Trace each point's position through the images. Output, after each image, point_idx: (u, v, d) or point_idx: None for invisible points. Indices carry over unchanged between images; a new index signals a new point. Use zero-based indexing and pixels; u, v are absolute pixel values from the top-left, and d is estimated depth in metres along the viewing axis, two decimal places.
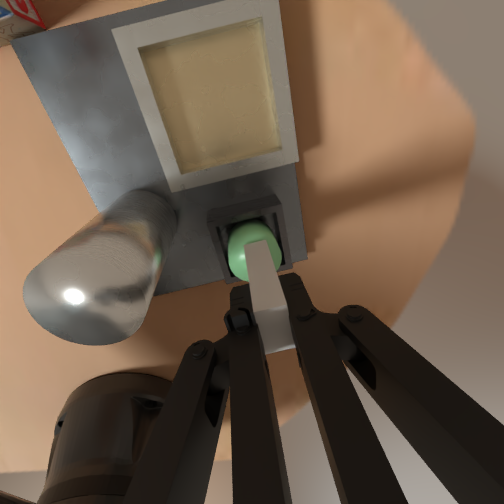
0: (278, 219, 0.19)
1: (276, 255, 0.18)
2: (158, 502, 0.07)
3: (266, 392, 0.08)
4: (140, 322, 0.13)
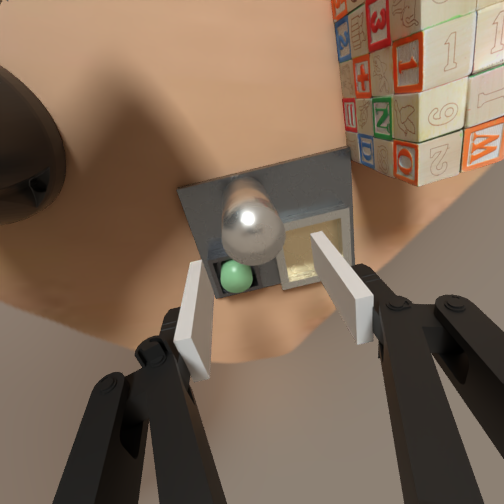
0: (253, 287, 0.32)
1: (239, 290, 0.31)
2: None
3: (189, 417, 0.08)
4: (238, 261, 0.22)
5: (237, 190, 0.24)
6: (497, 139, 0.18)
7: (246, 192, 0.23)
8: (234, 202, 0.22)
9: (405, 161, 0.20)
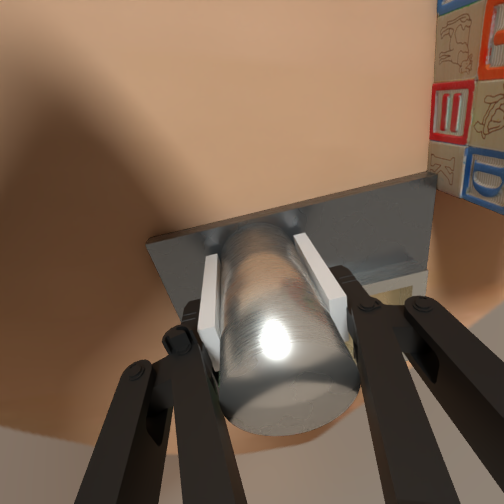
0: None
1: None
2: None
3: (212, 407, 0.08)
4: (255, 432, 0.10)
5: (249, 263, 0.13)
6: None
7: (268, 274, 0.12)
8: (246, 305, 0.10)
9: None
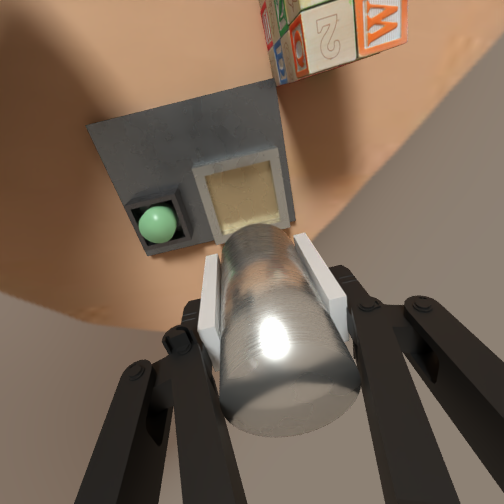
0: (180, 238, 0.30)
1: (161, 240, 0.28)
2: None
3: (212, 407, 0.08)
4: (255, 433, 0.10)
5: (250, 264, 0.13)
6: (396, 12, 0.15)
7: (269, 275, 0.12)
8: (246, 306, 0.10)
9: (299, 48, 0.17)
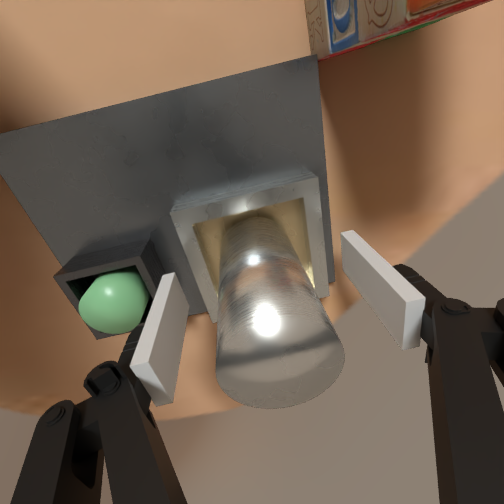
0: None
1: (120, 329, 0.17)
2: None
3: (148, 442, 0.08)
4: (249, 404, 0.11)
5: (245, 252, 0.14)
6: None
7: (262, 261, 0.13)
8: (241, 288, 0.11)
9: None
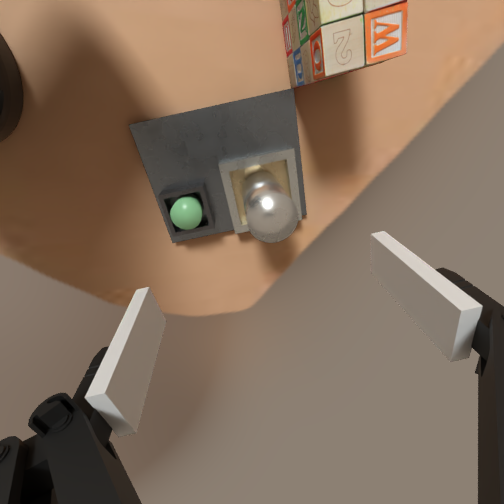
0: (205, 226, 0.34)
1: (189, 226, 0.32)
2: None
3: (107, 474, 0.07)
4: (259, 238, 0.27)
5: (257, 181, 0.29)
6: (398, 29, 0.19)
7: (266, 183, 0.28)
8: (256, 190, 0.27)
9: (318, 54, 0.21)
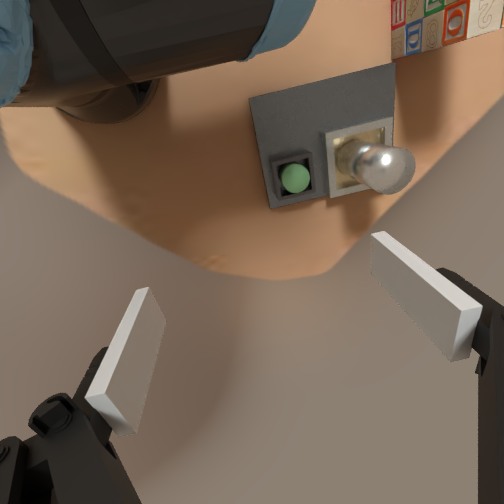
0: (308, 191, 0.38)
1: (297, 190, 0.36)
2: None
3: (107, 474, 0.07)
4: (377, 190, 0.30)
5: (366, 144, 0.33)
6: None
7: (378, 144, 0.32)
8: (374, 149, 0.31)
9: (456, 21, 0.24)
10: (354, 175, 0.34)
